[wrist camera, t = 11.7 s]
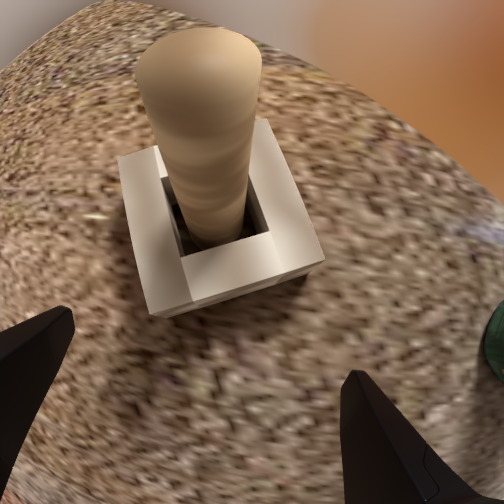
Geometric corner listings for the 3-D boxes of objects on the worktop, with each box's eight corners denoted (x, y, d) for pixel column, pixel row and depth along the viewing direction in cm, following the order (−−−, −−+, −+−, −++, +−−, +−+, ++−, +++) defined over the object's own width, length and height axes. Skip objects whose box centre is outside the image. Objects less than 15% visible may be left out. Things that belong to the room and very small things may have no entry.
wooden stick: (197, 259, 23) (142, 120, 8) (183, 211, 24) (130, 44, 9) (249, 244, 24) (280, 88, 8) (233, 197, 24) (240, 20, 9)
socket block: (164, 318, 22) (149, 314, 17) (133, 186, 24) (117, 158, 20) (308, 273, 23) (325, 259, 19) (260, 150, 26) (266, 118, 21)
